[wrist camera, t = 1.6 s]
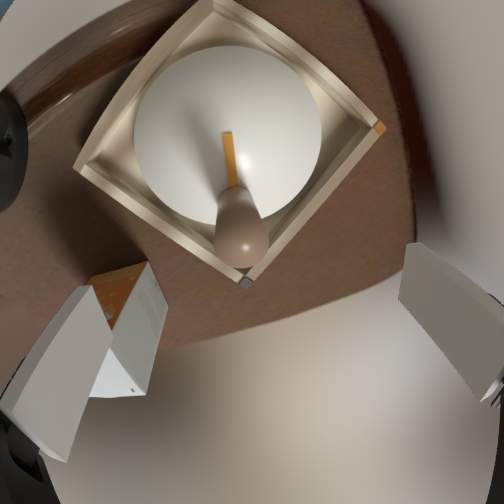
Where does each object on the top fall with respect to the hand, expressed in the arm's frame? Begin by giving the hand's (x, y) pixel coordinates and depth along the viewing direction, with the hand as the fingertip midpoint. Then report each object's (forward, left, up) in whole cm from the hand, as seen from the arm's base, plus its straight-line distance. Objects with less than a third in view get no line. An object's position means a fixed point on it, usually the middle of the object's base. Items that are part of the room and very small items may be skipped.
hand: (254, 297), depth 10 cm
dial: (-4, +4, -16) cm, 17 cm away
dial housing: (-4, +4, -17) cm, 18 cm away
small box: (-3, -16, -17) cm, 24 cm away
